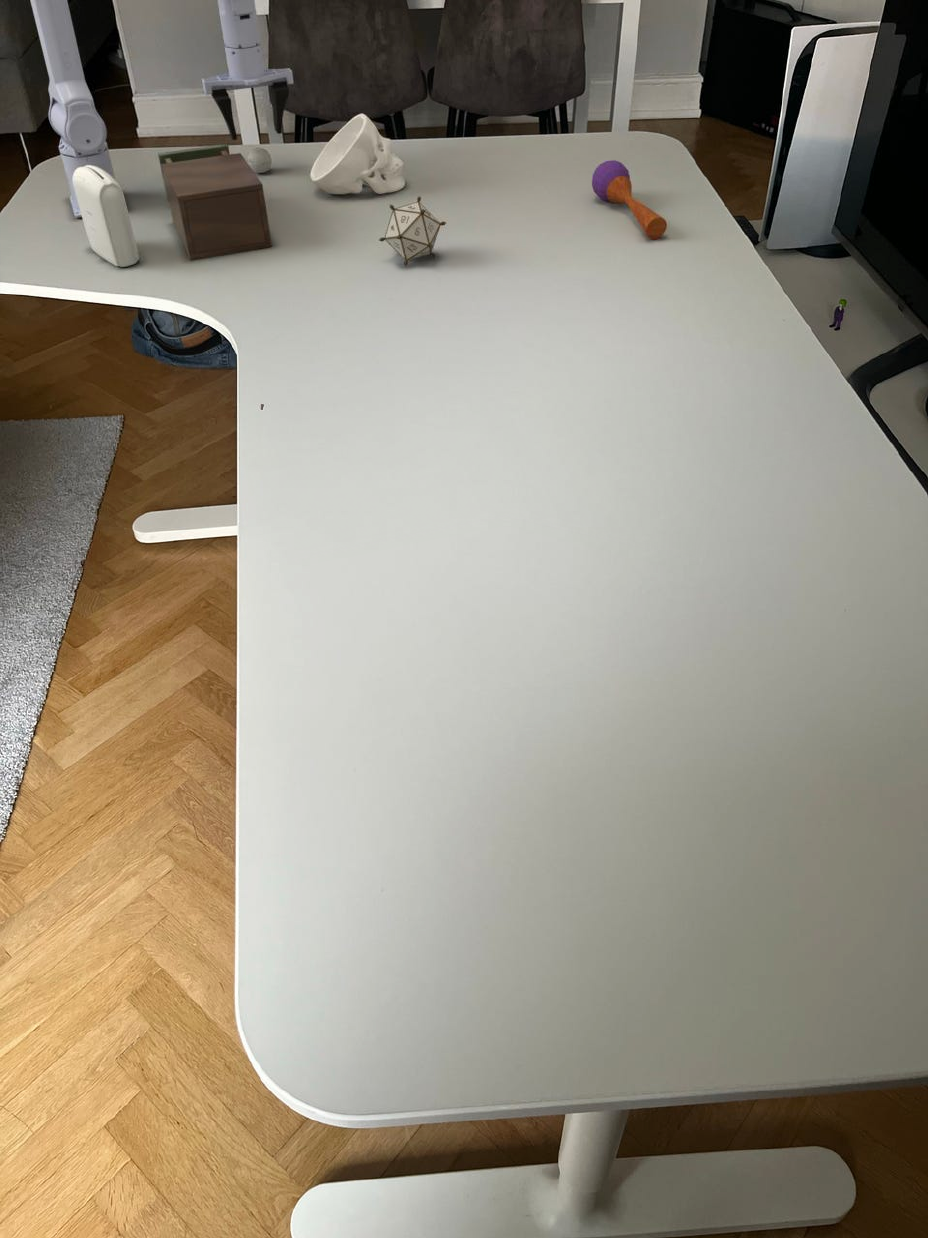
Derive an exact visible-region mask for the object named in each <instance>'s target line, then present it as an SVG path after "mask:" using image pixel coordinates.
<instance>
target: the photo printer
mask: <svg viewBox="0 0 928 1238" xmlns="http://www.w3.org/2000/svg"><path fill="white" fill-rule="evenodd" d="M72 181H73V186H74V190H75V193H76V197H77V201H78V204H79V208H80V211H81V215H82V217H81V218H82V222H83V225H84V229H85V232H86V235H87V239H88V243H89V246H90V247H91V249H92V251H93V252H95V253H96V254H97V255H98V256H100V257H101V258H103V259H104V260H106V261H107V262H109V263H110V264H112V265H114V266H115V267H121V268H123V267H124V268H126V267H129V266H132V265H135V264H137V263H138V261H139V260H140V254H139V250H138V246H137V243H136V239H135V234H134V230H133V226H132V222H131V219H130V215H129V211H128V206H127V203H126V198H125V194H124V191H123V189H122V187H121V186H120V184H119V183H118V182H117V180H116V181H115V180H114V179H113V178H112V177H111V176H110V175H109V174H108V173H107V172H105V171H104V170H102V169H100V168H98V167H96V166H92V165H86V166H84V167H79V168H77V169H76V170H75V172H74V174H73V178H72Z"/></svg>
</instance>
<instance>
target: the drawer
mask: <svg viewBox="0 0 928 1238" xmlns="http://www.w3.org/2000/svg"><path fill="white" fill-rule="evenodd" d="M230 154H231V153H230V149H229V145H228V144H227V143H223V144H215V145H209V146H202V147H201V146H200V147H193V148H187V149H186V148H185V149H180V150H179V149H178V150H171V151H165V152H164V151H163V152H157V156H158V161H159V166H160V170H161V176H162V180H163V185H164V189H165V194H166V197H167V202H168V203H169V200H168V195H167V191H166V186H165V181H164V177H163V172H162V167H161V164H166V163H173V162H180V161H187V160H194V159H201V158H209V157H216V156H223V155H230Z"/></svg>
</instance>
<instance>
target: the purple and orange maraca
mask: <svg viewBox="0 0 928 1238" xmlns="http://www.w3.org/2000/svg"><path fill="white" fill-rule="evenodd" d="M594 169H595V170H594V171H593V174H592V178H591V187H592V190H593V193H594V194H595V195H596V196H597V197H598V198H599V200H602V201H605V202H611V203H613V204H622V203H623V204H626V205H627V207H628V208H629V210H630V212H631V213H632V215H633V216H634V218H635V219H636V221H637V222H638V224H639V226H640V228H641V229H642V231H643V232H644V234H645V235H646V237H647V238H648V239H649V240H658V239H660V238H662V237H663V235H664V234H665V232H666V231H667V228H668V227H667V226H668V224H667V220H666V219H665V217H662V216H661V215H659V214H658V213H656V212H655V211H653V210H652V209H650V208H649V207H648V206H646V205H645V204H643V203H642V202H641V201H639V200H638V199H636V198H634V197H633V196H632V192H633V191H632V190H633V189H632V188H633V187H632V185H633V184H632V181H631V175H630V171H629V169H628V168H627V167H626V166H625V165H624V163H622V162H621V161H618V160H616V159H613V160H605V161H603V162H601V163H599V164H598V165H597V167H596V168H594Z"/></svg>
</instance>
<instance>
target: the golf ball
mask: <svg viewBox="0 0 928 1238" xmlns="http://www.w3.org/2000/svg"><path fill="white" fill-rule="evenodd" d="M272 161H273V159H272V156H271V154H270V152H269V150H267V149H265V148H263V147H255V148H253V149H251V150H250V152H248V156H247V163H248V164H249V166H250V167H251V169H252V170H253V172H254V173H258V174H265V173H266V172H268V171H269V170H270V168H271V167H272Z"/></svg>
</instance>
